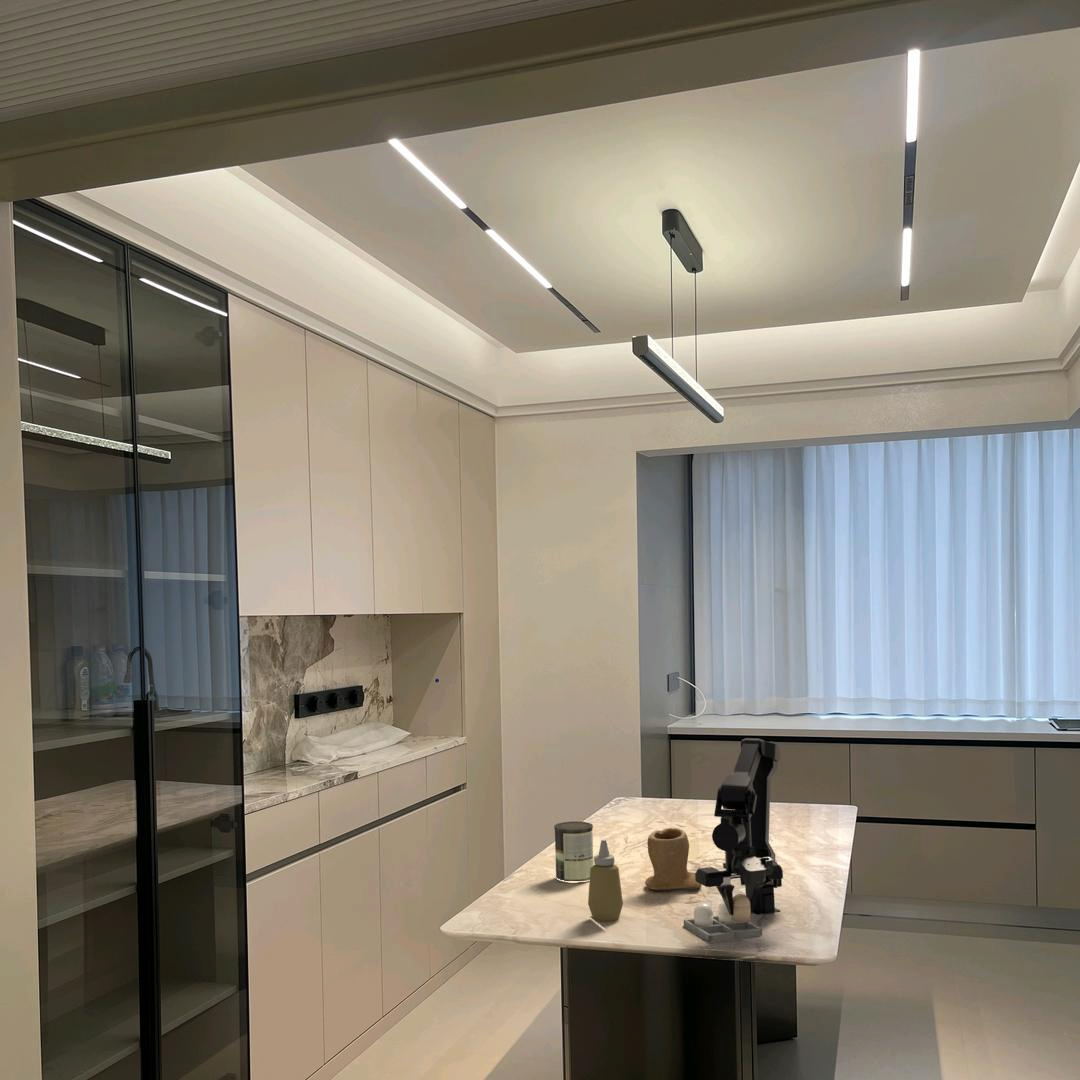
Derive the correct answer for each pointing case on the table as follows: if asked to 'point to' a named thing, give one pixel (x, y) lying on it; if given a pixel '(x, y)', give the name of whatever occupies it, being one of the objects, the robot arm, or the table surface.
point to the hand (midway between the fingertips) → (740, 913)
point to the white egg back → (703, 915)
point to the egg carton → (724, 930)
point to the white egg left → (724, 914)
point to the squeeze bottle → (605, 887)
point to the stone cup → (670, 861)
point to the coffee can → (573, 850)
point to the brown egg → (741, 908)
